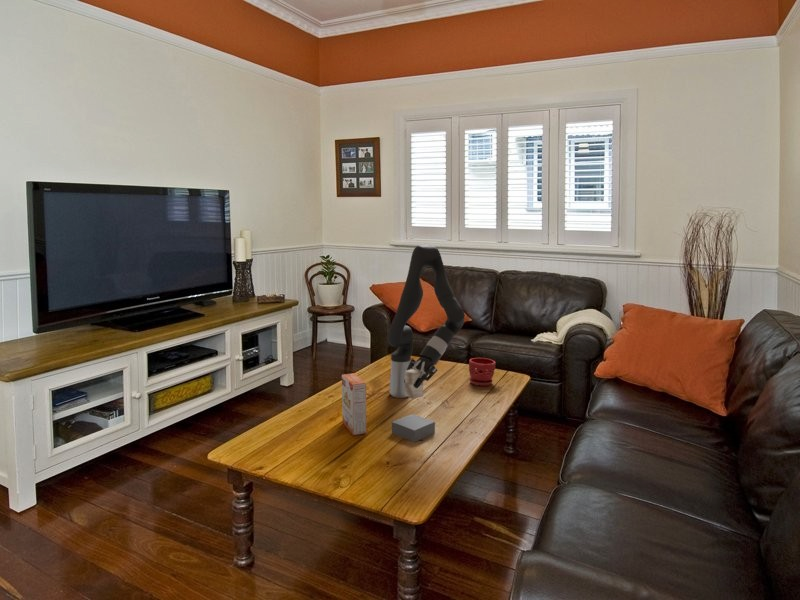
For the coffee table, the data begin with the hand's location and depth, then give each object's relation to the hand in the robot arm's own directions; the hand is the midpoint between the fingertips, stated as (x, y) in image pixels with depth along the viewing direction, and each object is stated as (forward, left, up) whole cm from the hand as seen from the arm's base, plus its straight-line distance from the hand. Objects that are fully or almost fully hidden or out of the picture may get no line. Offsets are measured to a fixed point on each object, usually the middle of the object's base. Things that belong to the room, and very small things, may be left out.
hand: (410, 385), depth 210 cm
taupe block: (0, +2, -5) cm, 5 cm away
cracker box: (-18, -14, -20) cm, 31 cm away
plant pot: (-27, +70, -20) cm, 77 cm away
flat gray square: (0, +2, -20) cm, 20 cm away
